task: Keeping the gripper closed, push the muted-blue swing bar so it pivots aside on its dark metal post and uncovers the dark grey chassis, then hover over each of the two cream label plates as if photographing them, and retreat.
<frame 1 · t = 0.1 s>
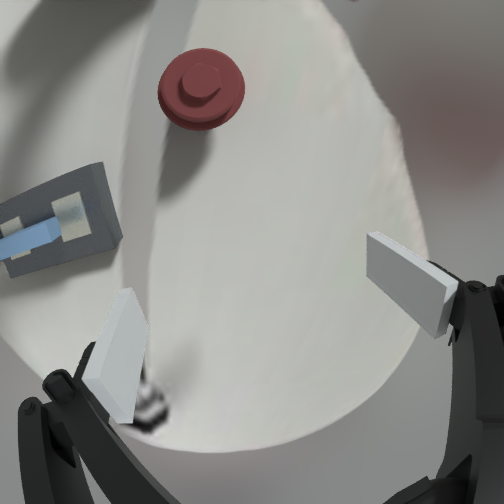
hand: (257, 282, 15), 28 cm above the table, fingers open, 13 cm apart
mechanical component: (201, 100, 35), on the table
chassis: (55, 218, 37), on the table
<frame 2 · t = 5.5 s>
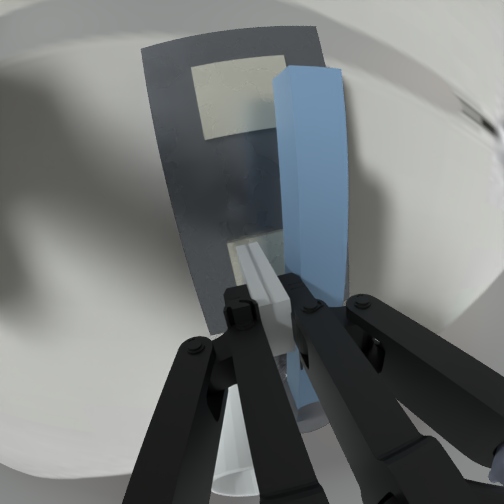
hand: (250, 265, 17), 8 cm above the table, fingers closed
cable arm: (312, 301, 16), point 10 cm above the table, hinge at 5.5°, touching gripper
chassis: (249, 174, 23), on the table
cup: (237, 396, 33), on the table
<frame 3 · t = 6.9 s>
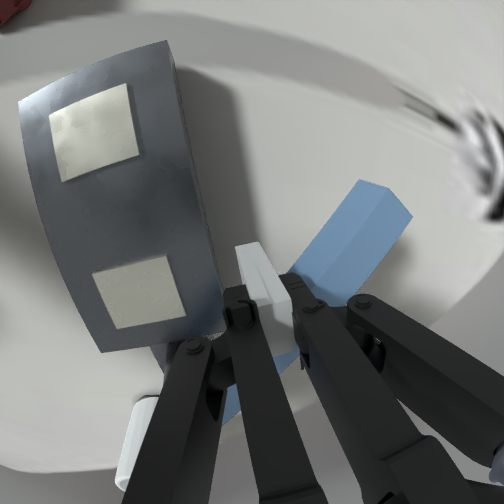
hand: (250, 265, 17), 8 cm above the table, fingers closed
mechanical component: (13, 7, 11), on the table
pivot post: (181, 348, 28), on the table
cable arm: (254, 356, 17), point 10 cm above the table, hinge at 47.2°, touching gripper
chassis: (130, 202, 22), on the table
cup: (162, 407, 32), on the table
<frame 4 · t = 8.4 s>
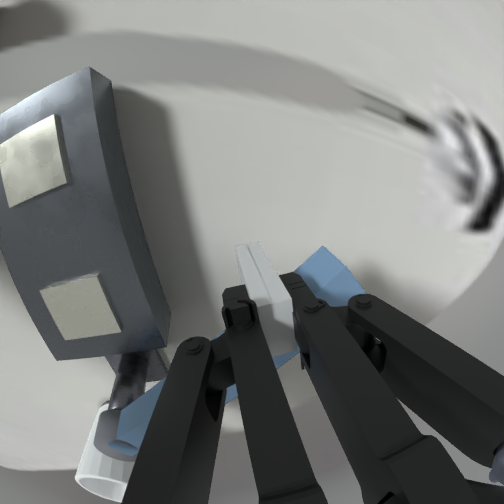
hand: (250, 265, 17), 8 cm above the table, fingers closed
pivot post: (135, 359, 27), on the table
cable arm: (193, 390, 17), point 11 cm above the table, hinge at 58.0°, touching gripper
chassis: (76, 221, 21), on the table
cup: (126, 413, 31), on the table
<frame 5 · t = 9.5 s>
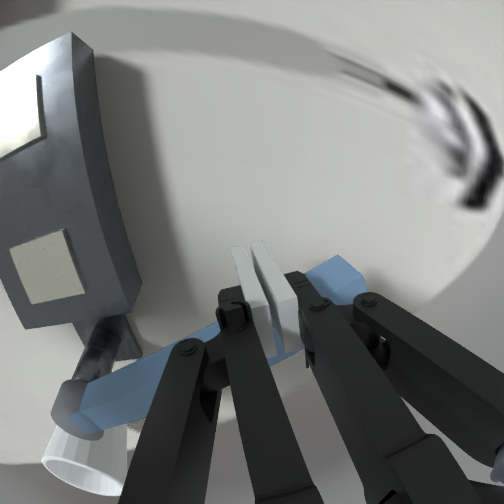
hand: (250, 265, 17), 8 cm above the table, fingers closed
pivot post: (107, 335, 26), on the table
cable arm: (176, 374, 16), point 11 cm above the table, hinge at 71.8°, touching gripper
chassis: (52, 184, 20), on the table
cup: (101, 398, 29), on the table
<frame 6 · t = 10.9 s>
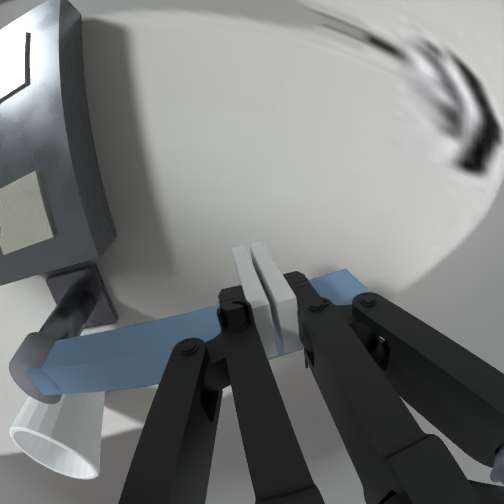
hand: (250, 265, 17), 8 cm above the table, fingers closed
pivot post: (82, 297, 24), on the table
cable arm: (159, 351, 15), point 11 cm above the table, hinge at 87.8°, touching gripper
chassis: (34, 139, 18), on the table
cup: (79, 373, 27), on the table
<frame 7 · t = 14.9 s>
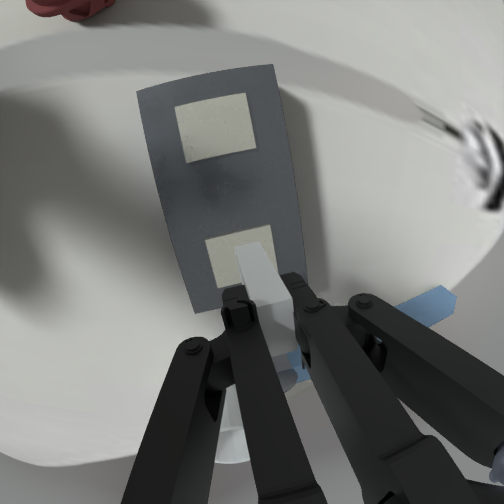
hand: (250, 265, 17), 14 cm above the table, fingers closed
mechanical component: (92, 2, 18), on the table
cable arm: (364, 338, 26), point 11 cm above the table, hinge at 87.8°
chassis: (225, 185, 29), on the table
cup: (223, 374, 39), on the table
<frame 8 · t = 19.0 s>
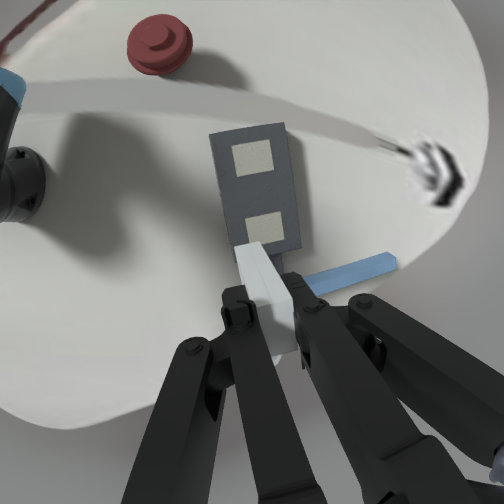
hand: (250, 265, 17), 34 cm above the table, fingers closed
mechanical component: (165, 59, 38), on the table
pivot post: (267, 268, 56), on the table
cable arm: (335, 278, 47), point 11 cm above the table, hinge at 87.8°
chassis: (253, 189, 50), on the table
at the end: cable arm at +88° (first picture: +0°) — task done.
